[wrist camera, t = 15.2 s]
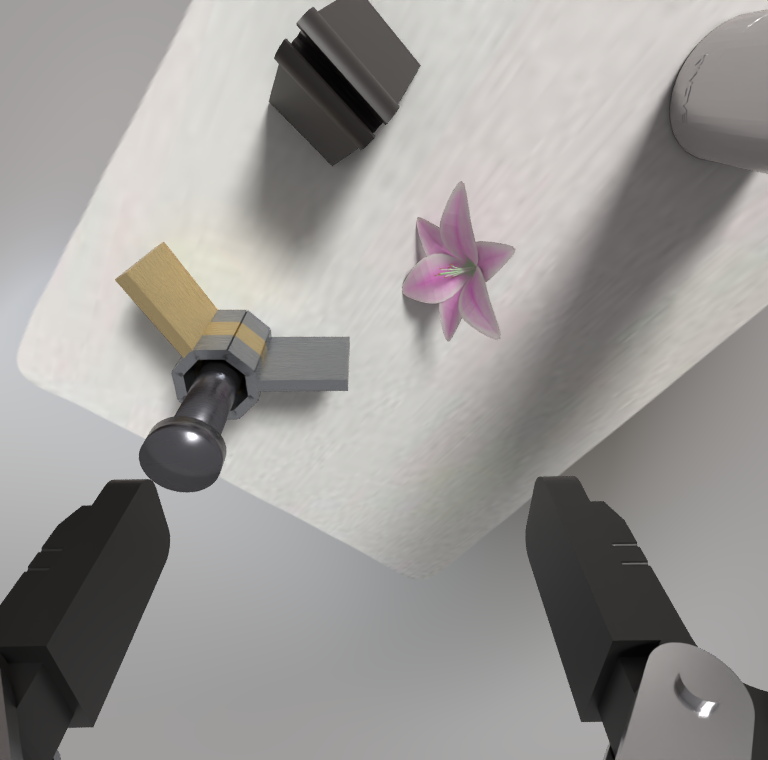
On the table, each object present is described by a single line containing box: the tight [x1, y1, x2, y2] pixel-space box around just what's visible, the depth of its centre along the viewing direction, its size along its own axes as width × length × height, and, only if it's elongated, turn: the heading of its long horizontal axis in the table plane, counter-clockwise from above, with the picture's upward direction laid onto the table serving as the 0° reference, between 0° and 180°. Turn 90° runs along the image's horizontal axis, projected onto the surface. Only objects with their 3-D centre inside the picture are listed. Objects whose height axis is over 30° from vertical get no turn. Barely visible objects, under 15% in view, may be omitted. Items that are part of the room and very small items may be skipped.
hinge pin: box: [139, 359, 244, 492], centre depth 38 cm, size 5×5×16 cm
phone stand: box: [269, 0, 421, 166], centre depth 30 cm, size 9×6×12 cm, turn 135°
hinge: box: [115, 242, 350, 419], centre depth 40 cm, size 15×12×8 cm
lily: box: [402, 181, 515, 341], centre depth 39 cm, size 11×11×9 cm
